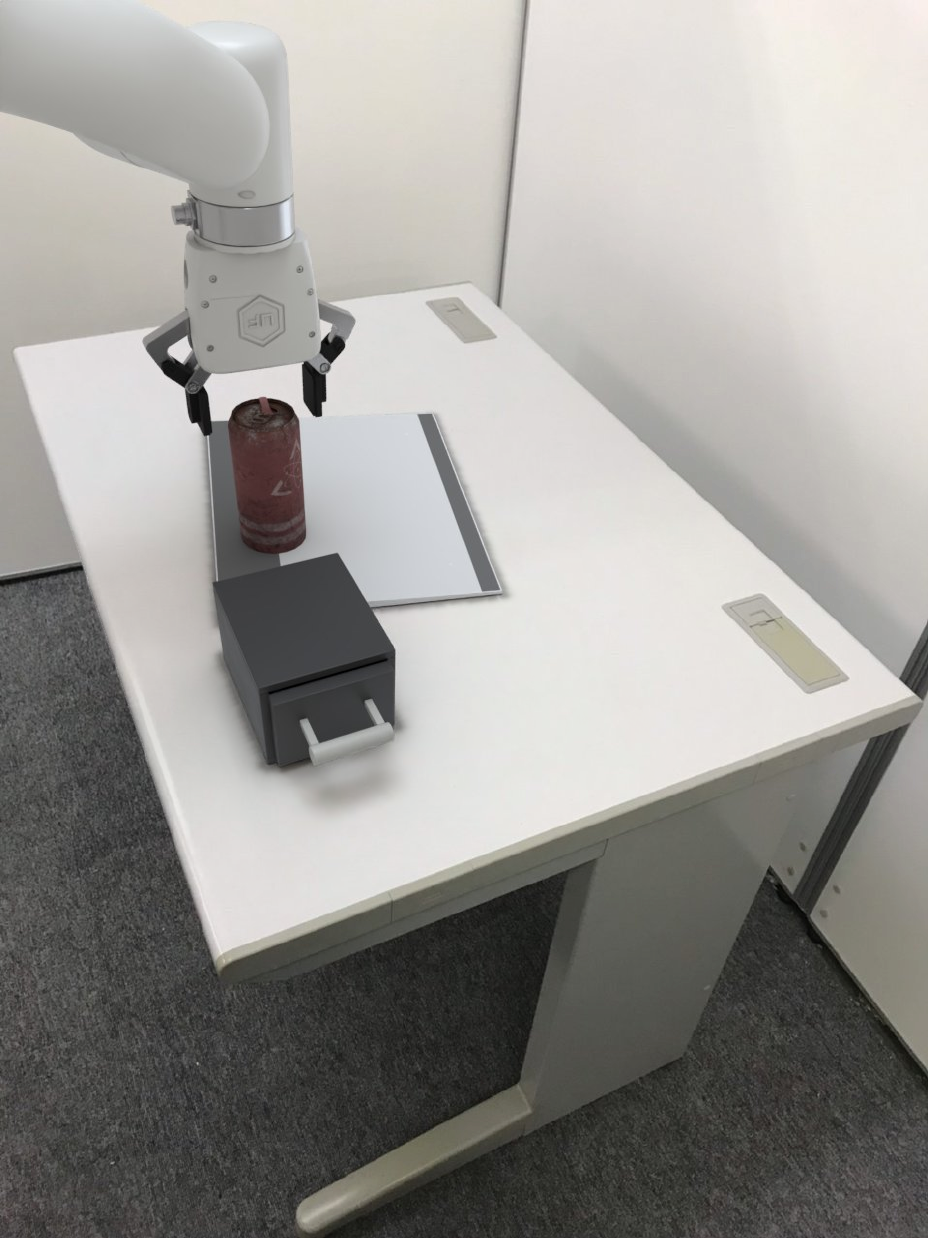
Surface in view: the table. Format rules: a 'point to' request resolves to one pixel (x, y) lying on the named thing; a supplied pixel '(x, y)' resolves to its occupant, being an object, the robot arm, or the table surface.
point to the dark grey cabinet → (294, 632)
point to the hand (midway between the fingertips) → (259, 418)
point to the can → (268, 475)
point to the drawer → (333, 714)
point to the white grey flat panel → (368, 510)
